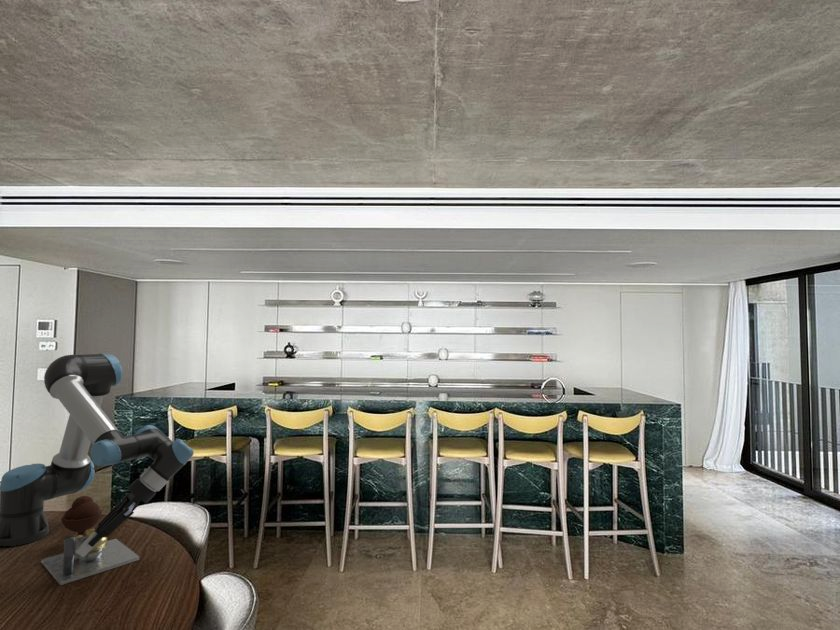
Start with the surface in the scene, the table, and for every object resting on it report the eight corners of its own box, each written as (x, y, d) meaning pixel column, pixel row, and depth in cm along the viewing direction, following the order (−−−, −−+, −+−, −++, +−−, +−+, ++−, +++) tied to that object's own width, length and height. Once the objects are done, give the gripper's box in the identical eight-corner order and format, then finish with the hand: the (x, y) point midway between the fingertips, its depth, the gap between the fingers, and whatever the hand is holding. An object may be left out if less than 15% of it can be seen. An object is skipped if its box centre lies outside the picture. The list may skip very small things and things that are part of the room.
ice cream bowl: (51, 548, 154) (54, 501, 155) (83, 534, 165) (85, 490, 166) (78, 552, 152) (80, 504, 152) (108, 538, 163) (110, 493, 163)
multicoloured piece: (86, 551, 150) (88, 519, 151) (112, 551, 150) (113, 519, 151) (50, 574, 135) (52, 539, 136) (79, 574, 135) (80, 539, 136)
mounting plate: (41, 562, 145) (42, 549, 145) (115, 541, 160) (116, 529, 160) (60, 585, 132) (61, 570, 132) (139, 559, 147) (139, 546, 148)
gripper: (136, 472, 152) (69, 538, 142) (140, 483, 141) (68, 555, 131) (154, 486, 155) (90, 551, 145) (160, 498, 144) (90, 569, 134)
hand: (79, 553), depth 138 cm, fingers closed
